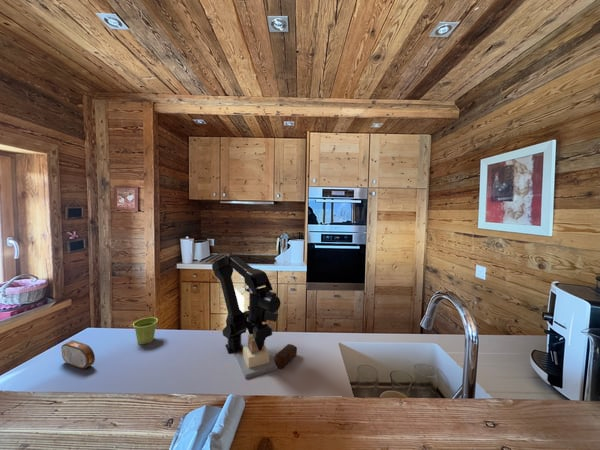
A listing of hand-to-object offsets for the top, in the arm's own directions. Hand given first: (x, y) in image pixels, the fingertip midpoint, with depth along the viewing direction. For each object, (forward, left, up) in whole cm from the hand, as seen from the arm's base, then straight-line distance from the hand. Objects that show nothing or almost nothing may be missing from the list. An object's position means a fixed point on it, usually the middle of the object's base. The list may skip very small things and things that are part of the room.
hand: (256, 344), depth 96 cm
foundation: (0, 0, -8) cm, 8 cm away
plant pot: (-36, -39, -8) cm, 54 cm away
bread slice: (-27, -60, -8) cm, 66 cm away
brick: (+3, +11, -8) cm, 14 cm away
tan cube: (0, 0, -2) cm, 2 cm away
